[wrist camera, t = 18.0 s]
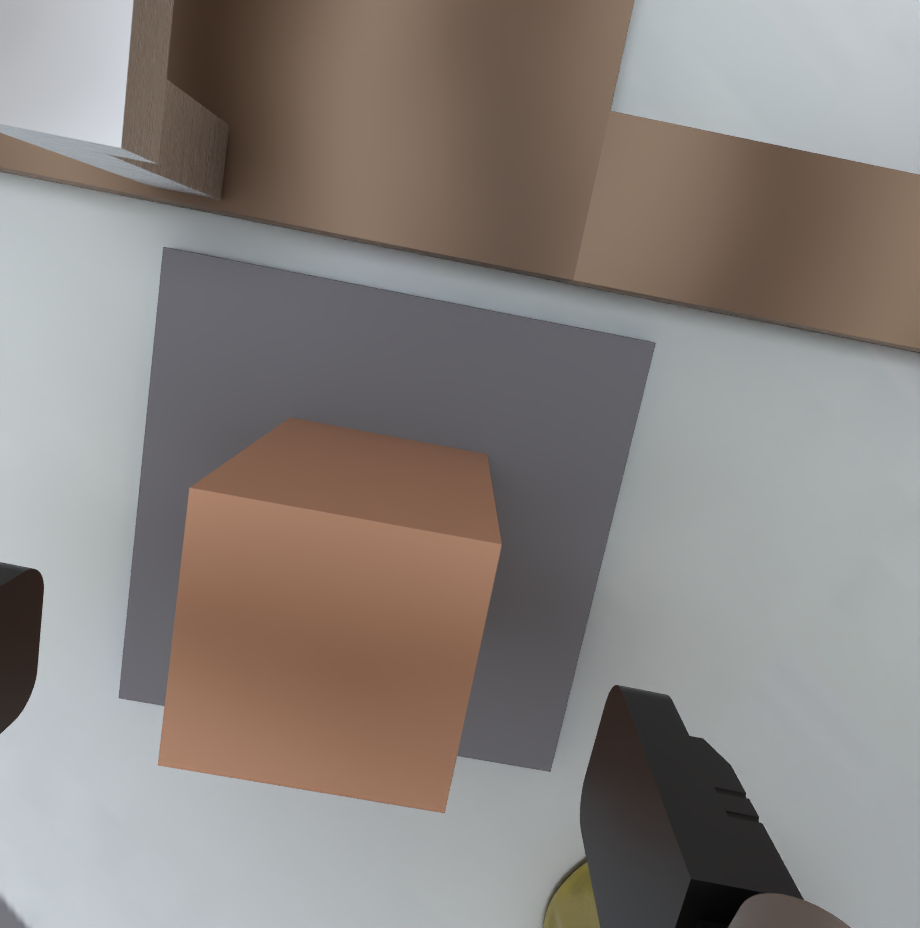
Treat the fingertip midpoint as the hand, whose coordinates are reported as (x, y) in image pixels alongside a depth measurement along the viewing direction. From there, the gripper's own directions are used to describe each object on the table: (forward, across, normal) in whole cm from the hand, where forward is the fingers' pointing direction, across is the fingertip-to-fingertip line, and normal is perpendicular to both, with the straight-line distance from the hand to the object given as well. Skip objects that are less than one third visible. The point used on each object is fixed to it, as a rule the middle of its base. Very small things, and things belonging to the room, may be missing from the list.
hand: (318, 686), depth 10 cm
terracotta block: (+9, 0, +1) cm, 9 cm away
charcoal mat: (+9, 0, +1) cm, 9 cm away
